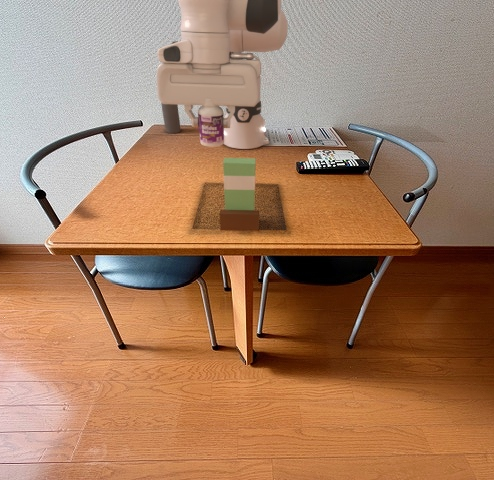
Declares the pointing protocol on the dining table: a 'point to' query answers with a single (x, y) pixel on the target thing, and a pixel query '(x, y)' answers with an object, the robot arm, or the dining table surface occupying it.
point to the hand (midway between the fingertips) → (211, 127)
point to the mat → (241, 213)
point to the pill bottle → (211, 124)
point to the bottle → (171, 118)
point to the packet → (239, 183)
